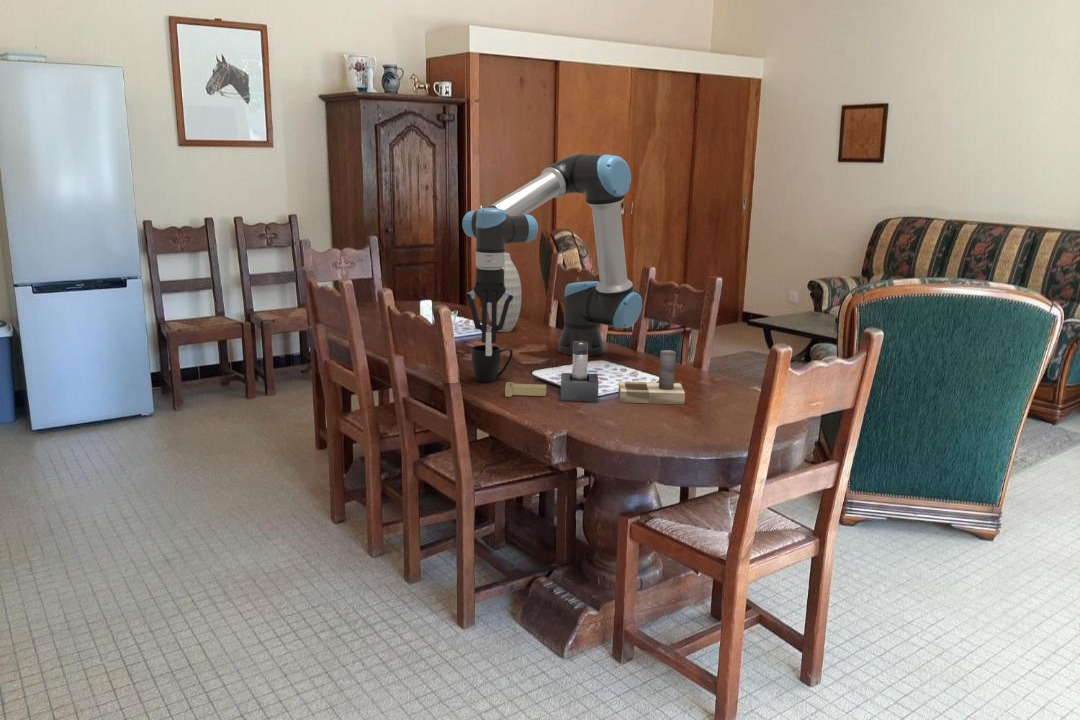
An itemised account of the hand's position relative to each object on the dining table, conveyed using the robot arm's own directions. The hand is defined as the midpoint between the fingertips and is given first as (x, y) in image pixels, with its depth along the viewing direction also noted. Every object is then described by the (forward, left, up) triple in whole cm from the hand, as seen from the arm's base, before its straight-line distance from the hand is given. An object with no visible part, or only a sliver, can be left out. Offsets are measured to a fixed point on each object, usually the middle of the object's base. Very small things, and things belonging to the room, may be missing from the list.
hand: (488, 354), depth 232 cm
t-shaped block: (0, +10, -11) cm, 15 cm away
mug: (-14, 0, -11) cm, 18 cm away
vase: (-81, -2, -11) cm, 82 cm away
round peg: (0, +25, -11) cm, 27 cm away
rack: (0, +44, -11) cm, 46 cm away
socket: (0, +25, -11) cm, 27 cm away
